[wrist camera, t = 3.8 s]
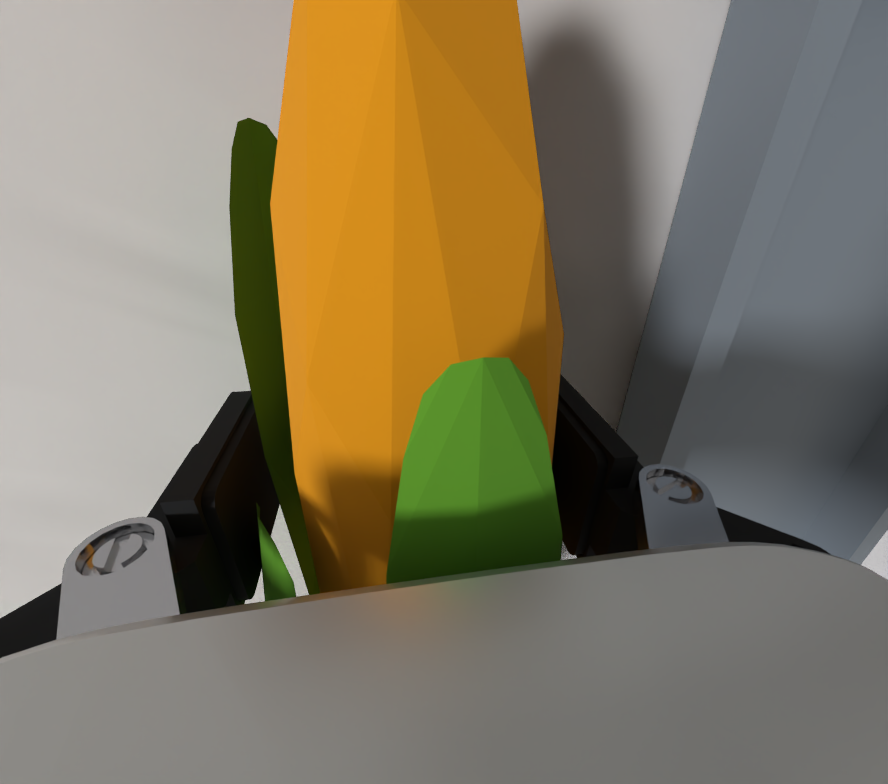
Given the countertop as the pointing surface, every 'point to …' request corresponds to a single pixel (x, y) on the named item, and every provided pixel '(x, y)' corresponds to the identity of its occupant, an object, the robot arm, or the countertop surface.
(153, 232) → the countertop surface
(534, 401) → the corn
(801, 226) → the tray
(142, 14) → the countertop surface
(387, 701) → the robot arm
